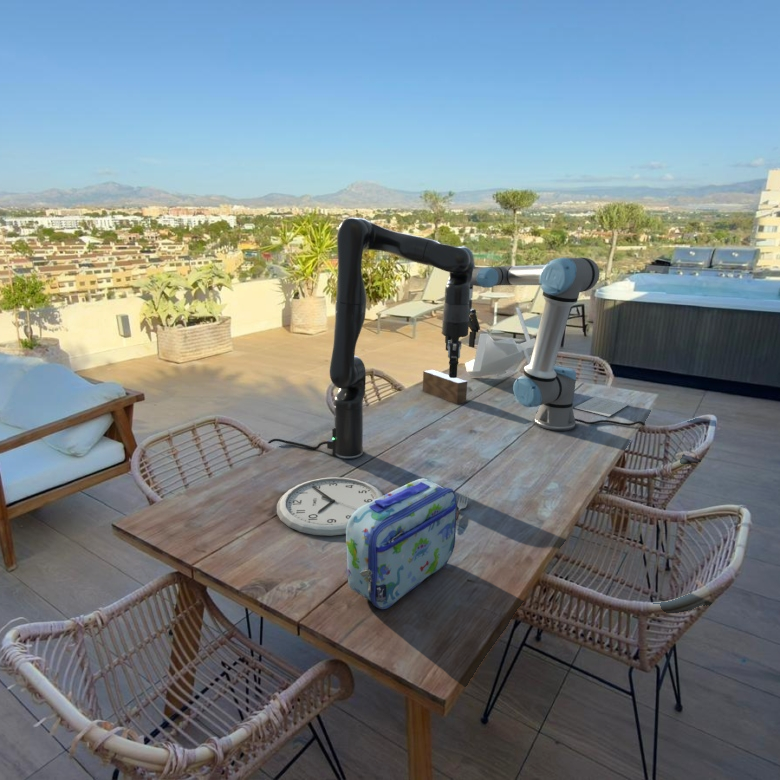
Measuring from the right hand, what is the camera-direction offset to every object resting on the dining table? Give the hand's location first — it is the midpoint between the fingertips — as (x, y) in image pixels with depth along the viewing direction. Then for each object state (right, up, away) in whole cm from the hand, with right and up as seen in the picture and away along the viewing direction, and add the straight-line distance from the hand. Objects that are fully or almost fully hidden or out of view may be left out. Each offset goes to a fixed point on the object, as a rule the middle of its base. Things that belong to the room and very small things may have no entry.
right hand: (460, 348), depth 223 cm
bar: (-6, -20, +14) cm, 25 cm away
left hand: (-11, -13, -69) cm, 71 cm away
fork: (-12, -51, -84) cm, 99 cm away
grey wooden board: (+62, -25, +3) cm, 66 cm away
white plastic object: (+26, -15, +34) cm, 45 cm away
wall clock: (-46, -49, -80) cm, 105 cm away
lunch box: (-27, -59, -110) cm, 128 cm away
